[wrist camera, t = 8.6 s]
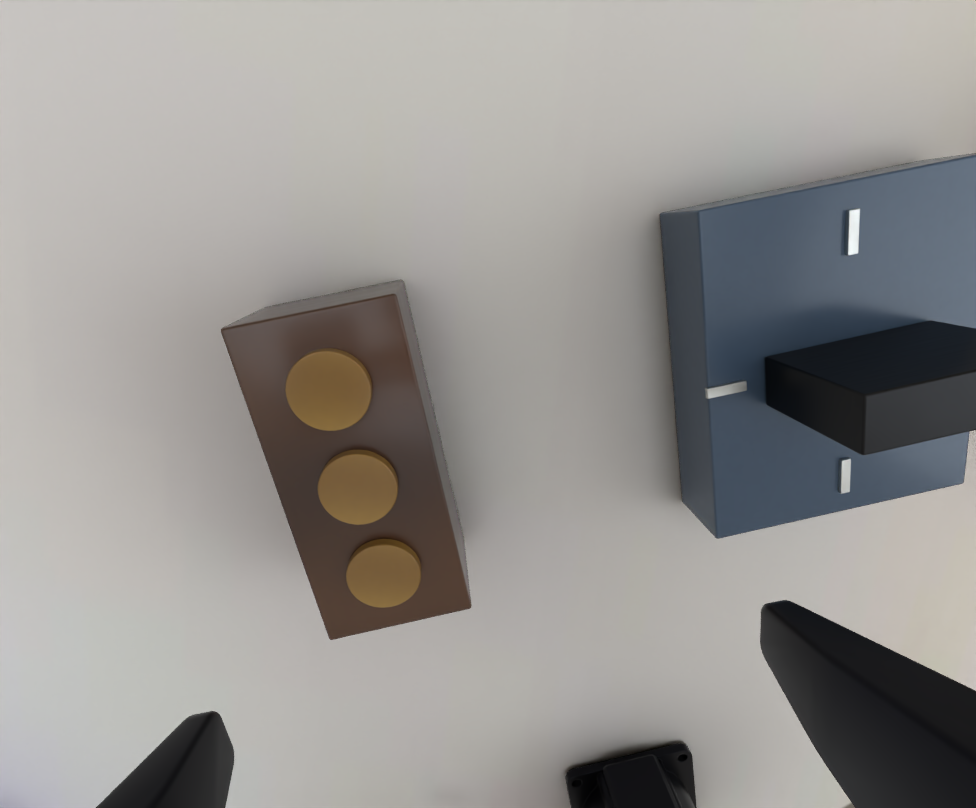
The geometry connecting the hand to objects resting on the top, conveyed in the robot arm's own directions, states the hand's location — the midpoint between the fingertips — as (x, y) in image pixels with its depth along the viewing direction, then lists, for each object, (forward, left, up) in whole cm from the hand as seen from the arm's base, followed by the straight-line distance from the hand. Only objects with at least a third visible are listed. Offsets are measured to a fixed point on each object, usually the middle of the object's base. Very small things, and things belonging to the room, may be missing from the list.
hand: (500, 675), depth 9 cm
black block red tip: (0, -14, -10) cm, 17 cm away
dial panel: (0, -14, -13) cm, 19 cm away
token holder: (0, +3, -13) cm, 13 cm away
